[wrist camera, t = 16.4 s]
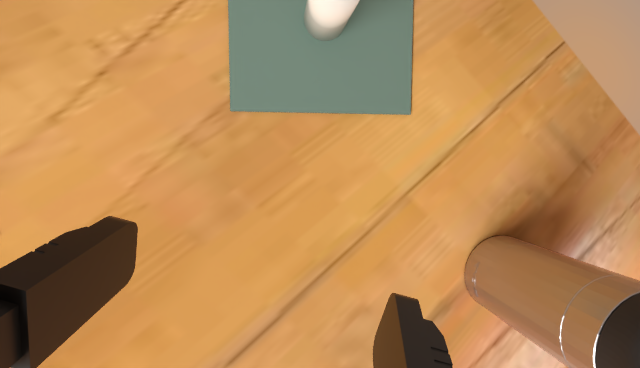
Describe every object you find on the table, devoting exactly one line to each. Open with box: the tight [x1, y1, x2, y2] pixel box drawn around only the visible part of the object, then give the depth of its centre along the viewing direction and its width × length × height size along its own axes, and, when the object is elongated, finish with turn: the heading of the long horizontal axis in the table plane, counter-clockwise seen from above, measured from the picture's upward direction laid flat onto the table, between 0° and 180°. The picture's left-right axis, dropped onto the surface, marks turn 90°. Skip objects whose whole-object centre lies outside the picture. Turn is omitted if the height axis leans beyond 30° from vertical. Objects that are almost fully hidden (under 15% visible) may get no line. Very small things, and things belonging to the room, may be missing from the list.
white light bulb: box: [304, 0, 360, 41], centre depth 33 cm, size 4×4×9 cm
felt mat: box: [228, 0, 413, 115], centre depth 37 cm, size 20×20×1 cm
